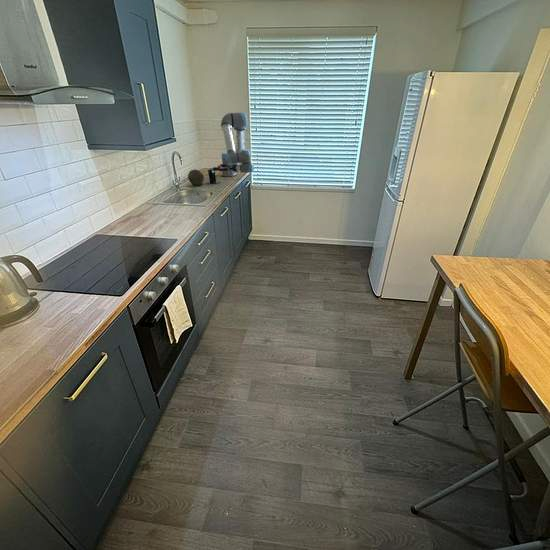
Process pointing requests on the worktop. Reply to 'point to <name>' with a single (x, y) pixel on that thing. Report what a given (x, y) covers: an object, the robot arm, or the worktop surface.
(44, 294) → the worktop surface
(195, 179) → the cantaloupe
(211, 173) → the switch bracket
